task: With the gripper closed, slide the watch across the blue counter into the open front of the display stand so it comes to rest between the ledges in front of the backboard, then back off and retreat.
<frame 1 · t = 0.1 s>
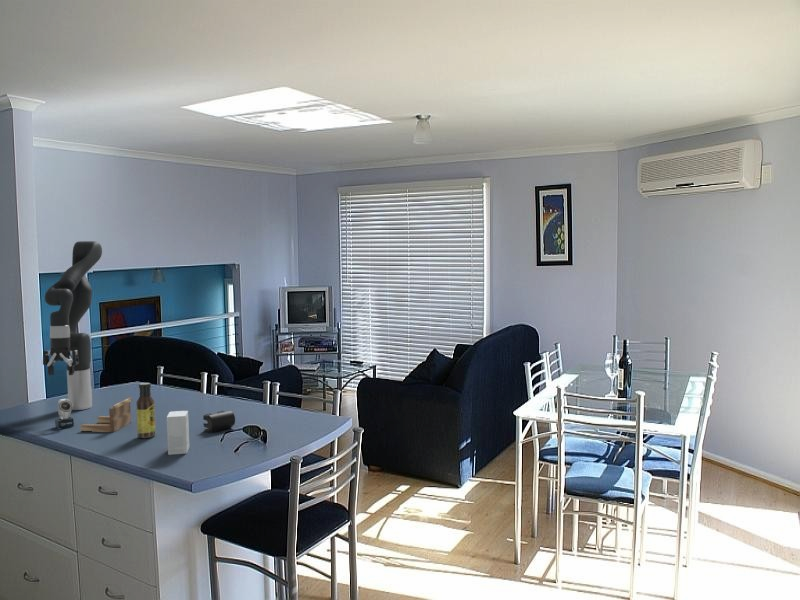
hand: (61, 375, 280), 17 cm above the table, tool pointing down, fingers open, 8 cm apart
watch: (64, 427, 264), on the table
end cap: (219, 430, 257), on the table
small box: (178, 451, 230), on the table
display stand: (106, 427, 263), on the table
sauce bottle: (146, 437, 248), on the table
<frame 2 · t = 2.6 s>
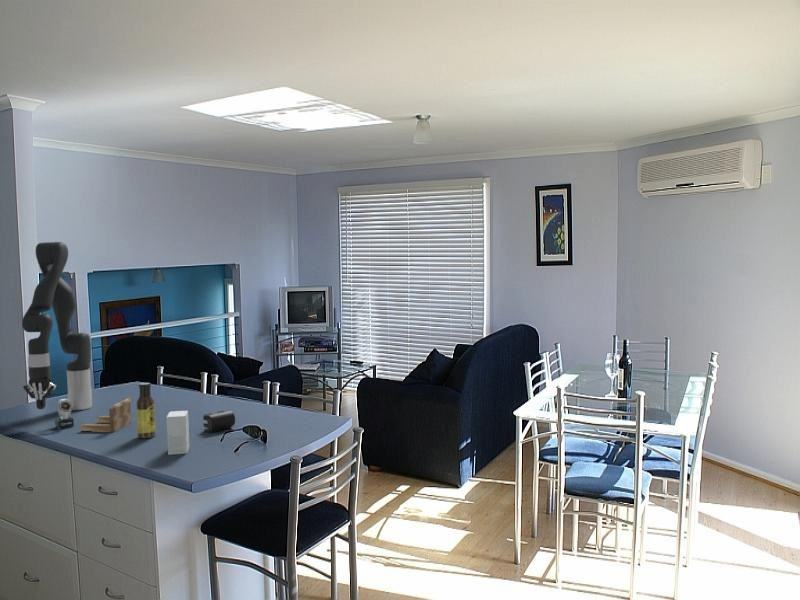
hand: (41, 408, 263), 7 cm above the table, tool pointing down, fingers closed
nothing on the table moved.
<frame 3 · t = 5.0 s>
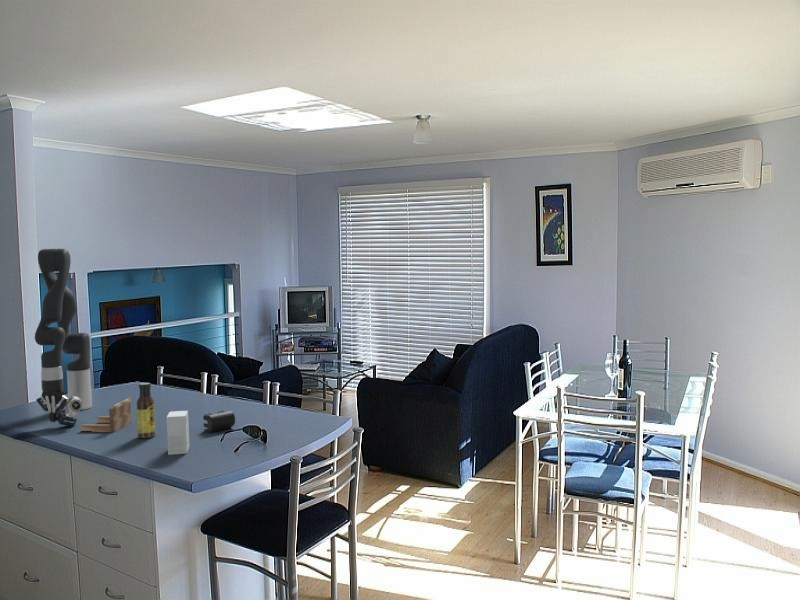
hand: (54, 421, 264), 2 cm above the table, tool pointing down, fingers closed
watch: (65, 423, 264), point 1 cm above the table, touching gripper, hand
everything else where it was.
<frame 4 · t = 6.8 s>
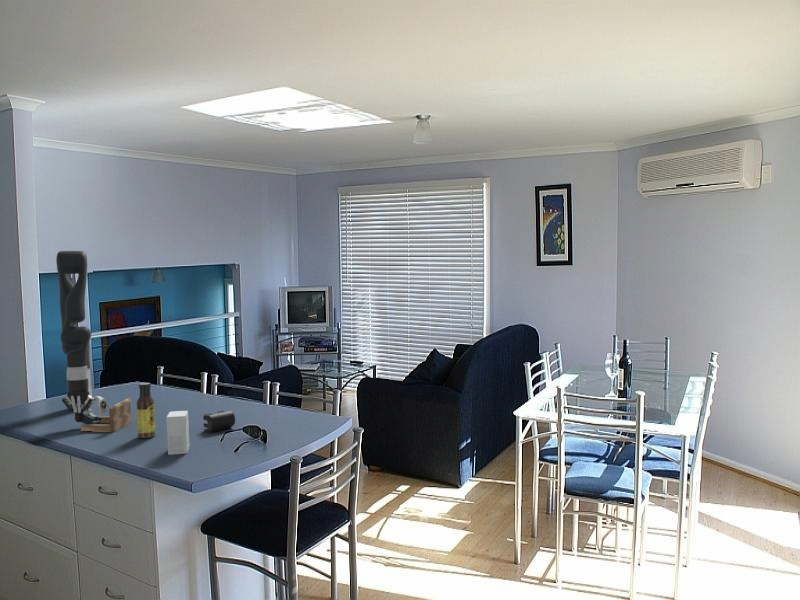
hand: (79, 421, 262), 2 cm above the table, tool pointing down, fingers closed
watch: (90, 424, 264), point 1 cm above the table, touching gripper, hand
everything else where it was.
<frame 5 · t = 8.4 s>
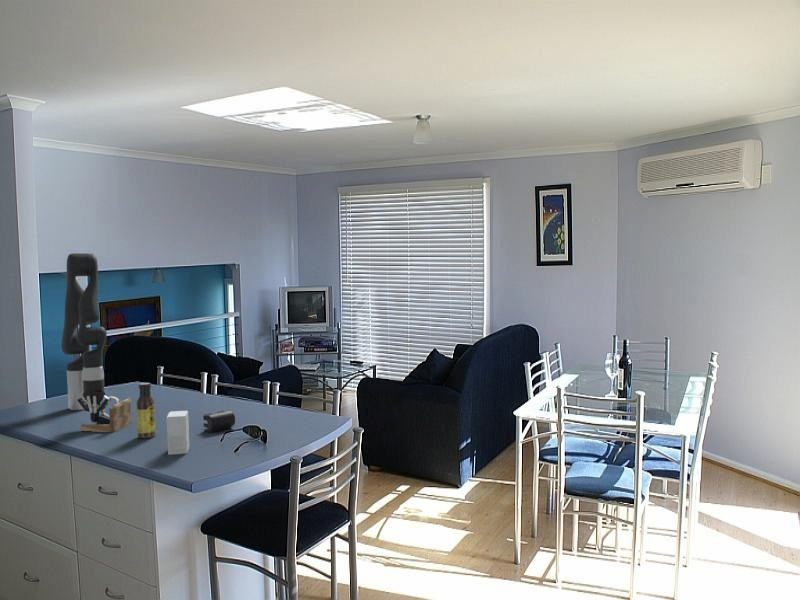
hand: (95, 421, 262), 2 cm above the table, tool pointing down, fingers closed
watch: (103, 423, 265), point 1 cm above the table, touching gripper, hand
everything else where it was.
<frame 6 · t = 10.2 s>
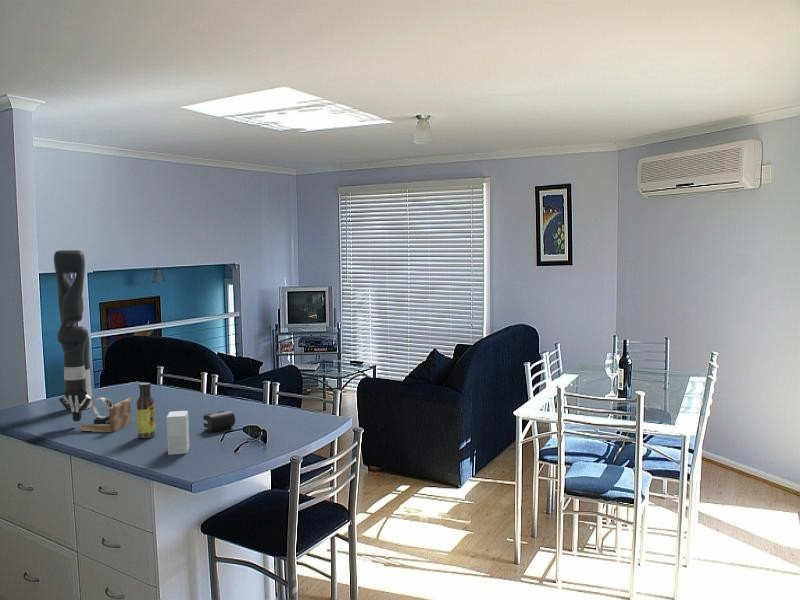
hand: (77, 421, 263), 2 cm above the table, tool pointing down, fingers closed
watch: (103, 425, 265), on the table
everything else where it was.
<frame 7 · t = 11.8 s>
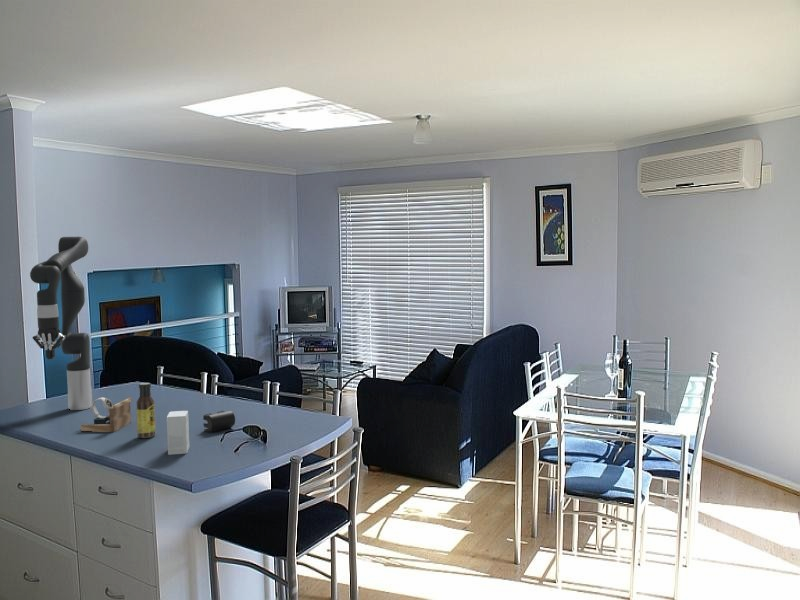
hand: (50, 359, 268), 26 cm above the table, tool pointing down, fingers closed
nothing on the table moved.
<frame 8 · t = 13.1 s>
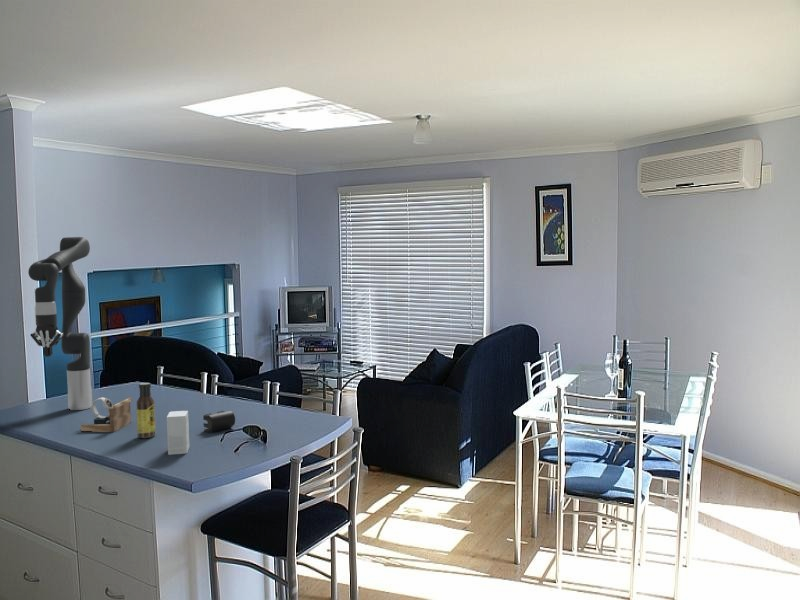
hand: (48, 356, 268), 27 cm above the table, tool pointing down, fingers closed
nothing on the table moved.
at the end: watch inside the target area on the display stand (3.6 cm from its centre), point 0.0 cm above the display stand's base; watch tilted 0° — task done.
